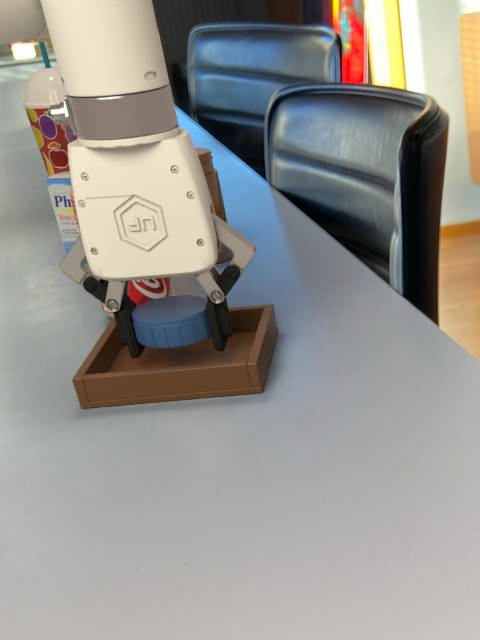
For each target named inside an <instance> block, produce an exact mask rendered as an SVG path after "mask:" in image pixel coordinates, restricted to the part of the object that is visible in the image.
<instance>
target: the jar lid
mask: <svg viewBox="0 0 480 640" xmlns="http://www.w3.org/2000/svg"><path fill="white" fill-rule="evenodd" d="M207 301H208V298H207V297H203V296H199V295H190V294H181V295H180V294H179V295H178V294H177V295H175V296H169V297H163V298H158V299H154V300H150V301H147V302H145V303H142V304H140V305H138V306H137V307H135V308H134V309H133V311H132V313H131V315H132V319H133V325H134V328H135V332H136V336H137V340H138V342H139V343H140V344H141V345H144V346H146V347H151V348H177V347H183V346H188V345H192V344H195V343H198V342H201V341H204V340H205V339H207V338H209V337H211V331H210V327H209V322H208V318H207V313H206V308H205V306H206V304H207Z"/></svg>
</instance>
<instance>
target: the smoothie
mask: <svg viewBox="0 0 480 640" xmlns="http://www.w3.org/2000/svg"><path fill="white" fill-rule="evenodd" d="M38 46H39V49H40V53H41V56H42V60H43V63H44V67H42V68H40V69H38V70H37V71H35V72H33V74H32V75H31V76H30V77H29V79H28V81H27V83H26V85H25V89H24V101H23V102H22V106H23V108H24V109H25V113H26V115H27V119H28V121H29V124H30V127H31V129H32V132H33V135H34V139H35V141H36V144H37V147H38V150H39V153H40V155H41V158H42V161H43V164H44V167H45V169H46V172H47V175H48V177H50V176H53V175H55V174H58V173H62V172H67V171H69V172H70V169H69V160H68V144H69V143H71V142H73V141H74V140H77V135H74V134H73V131H72V129H71V128H70V126H66V125H65V124H60V125H56V124H55V123H54V122H53V120H52V117H51V112H50V106H51V105H57V104H60V102H63V101H64V96H66V94H65V90H64V87H63V83H62V79H61V76H60V72H59V68H58V66H52V65H51V62H50V57H49V54H48V50H47V47H46V43H45V41H38Z"/></svg>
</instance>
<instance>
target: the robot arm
mask: <svg viewBox="0 0 480 640" xmlns="http://www.w3.org/2000/svg"><path fill="white" fill-rule="evenodd" d="M45 38H50V42H51V45H52V50H53V52H54V56H55V57H54V58H55V61H56V64H57V68H59V72H60V76H61V79H62V83H63V87H64V90H65V94H66V96H64V101H63V102H60V104H57V105H51V106H50V112H51V117H52V120H53V122H54V123H55V124H56V125H60V124H65V125H66V126H70V128H71V129H72V131H73V134H74V135H77V140H74V141H73V142H71V143H69V144H68V160H69V169H70V177H71V184H72V190H73V196H74V202H75V207H76V213H77V218H78V223H79V228H80V235H79V236H78V238H77V239H76V241H75V242H74V244H73V245H72V247H71V248H70V249H69V251H68V252H67V254H66V253H65V255H64V256H63V258H62V260H61V261H60V263H59V269H60V271H61V273H63V274H65V275H66V276H67V277H69V278H70V279H72V280H73V281H74V282H75V283H77V284H78V285H80V286H82V287H83V289H84V290H85V291H86V292H87V293H88V294H90V295H91V296H93V297H94V298H95V299H97V300H98V301H99V302H100V301H101V302H102V303H104V304H105V305H106V308H107V309H108V310H109V311H111V312H113V314H114V318H115V321H116V325H117V329H118V332H119V336H120V340H121V343H122V345H123V346H128V348H129V352H130V356H131V358H132V359H133V358H139V356H141V354H142V353H143V351H144V349H145V347H146V346H144V345H141V344H140V343H139V342H138V340H137V336H136V332H135V328H134V325H133V319H132V315H131V313H132V311H133V309H134V308H135V307H137V305H136V303H134V302H133V300H130V297H129V296H128V289H129V284H130V280H141V279H153V278H166V277H171V278H177V277H187V276H194V278H195V279H196V281H197V282H198V284H199V285H200V286H201V288H202V290H203V291H204V292H205V294H206V299H208V301H207V304H206V306H205V308H206V313H207V318H208V322H209V327H210V331H211V336H212V341H213V345H214V349H215V350H217V351H224V349H225V346H226V344H227V341H228V337H232V334H233V331H232V324H231V320H230V315H229V310H228V308H229V306H228V301H227V296H228V295H229V293H230V291H231V290H232V289H233V287H234V286H235V285H236V284H237V282H238V281H239V279H240V277H241V276H242V274H243V273H244V271H245V270H246V269H247V267H249V266H248V265H249V264H251V261H252V260H253V259H254V257H255V255H256V252H257V246H256V245H255V244H254V243H253V242H252V241H251V240H249V239H248V238H247V237H246V236H244V235H243V234H242V233H240V232H239V231H238V230H237V229H235V228H234V227H232V226H231V225H230V224H229V223H228V224H227V223H226V222H224V221H223V220H222V219H220V218H219V217H218V216H217V215H216V214H215V210H214V206H213V203H212V199H211V196H210V192H209V189H208V185H207V182H206V179H205V175H204V172H203V169H202V166H201V163H200V160H199V157H198V154H197V152H196V149H195V148H196V147H195V144H194V142H193V139H192V137H191V134H190V132H189V130H188V129H185V128H180V125H179V121H178V116H177V111H176V106H175V102H174V97H173V93H172V87H171V83H170V79H169V74H168V70H167V65H166V64H167V63H166V60H165V56H164V55H165V54H164V51H163V46H162V40H161V36H160V31H159V27H158V22H157V18H156V14H155V8H154V4H153V0H0V46H2V45H7V44H12V43H18V42H19V43H20V42H29V41H34V40H40V39H45ZM222 244H224V245H225V246H226V247H228V248H229V249H230V250H231V251H232V252H233V254H234V256H233V257H232V258H231V259H230V260H229V262H228V263H227V265H226V266H225V268H224V269H223V271H222V272H221V271H220V269H219V268H218V267H217V266H216V265H217V264H215V263H216V262H217V259H218V255H219V254H220V252H221V249H222ZM85 257H86V258H85ZM85 259H86V261H87V264H88V266H87V264H86V262H85Z"/></svg>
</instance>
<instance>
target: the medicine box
mask: <svg viewBox="0 0 480 640" xmlns="http://www.w3.org/2000/svg"><path fill="white" fill-rule="evenodd" d="M69 177H70V172H69V171H67V172H62V173H58V174H55V175H53V176H50V177H49V176H48V177H46V178H45V184H46V188H47V191H48V195H49V198H50V202H51V206H52V209H53V213H54V217H55V220H56V223H57V227H58V231H59V235H60V237H61V242H62V245H63V249H64V252H65V255H66V254H67V252H68V251H69V249H70V248H71V247H72V245H73V244H74V242H75V241H76V239H77V238H78V236H79V235H80V231H79V228H78V224H77V221H76V217H75V214H74V210H73V207H72V203H71V199H70V192H71V187H72V184H71V181H70V179H69ZM85 259H87V258H86V257H85Z"/></svg>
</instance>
